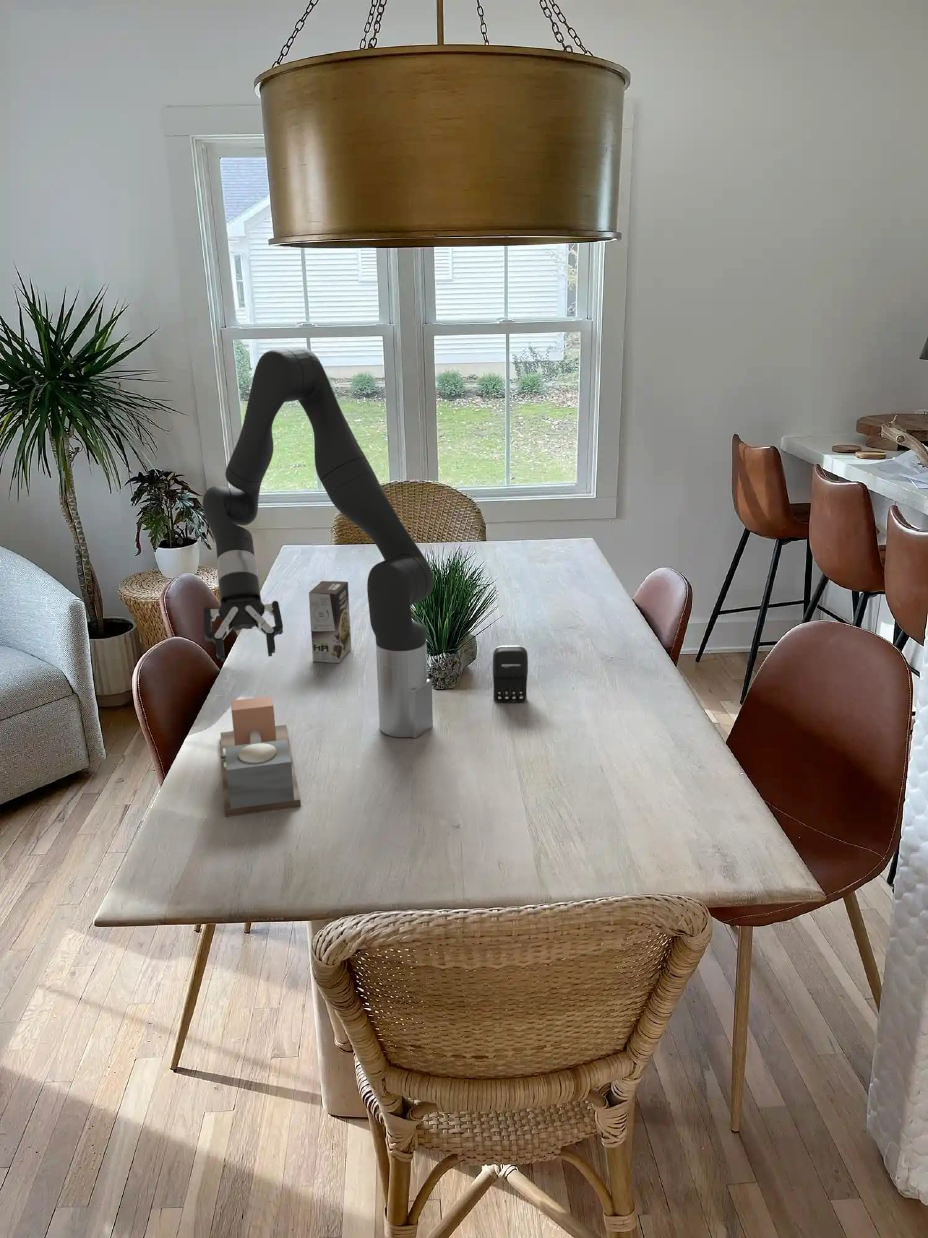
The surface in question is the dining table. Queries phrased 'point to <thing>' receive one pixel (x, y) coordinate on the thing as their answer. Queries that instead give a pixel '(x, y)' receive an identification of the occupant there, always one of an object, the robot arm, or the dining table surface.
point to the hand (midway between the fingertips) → (246, 657)
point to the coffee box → (330, 621)
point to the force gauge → (258, 775)
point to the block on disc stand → (253, 721)
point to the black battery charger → (510, 674)
